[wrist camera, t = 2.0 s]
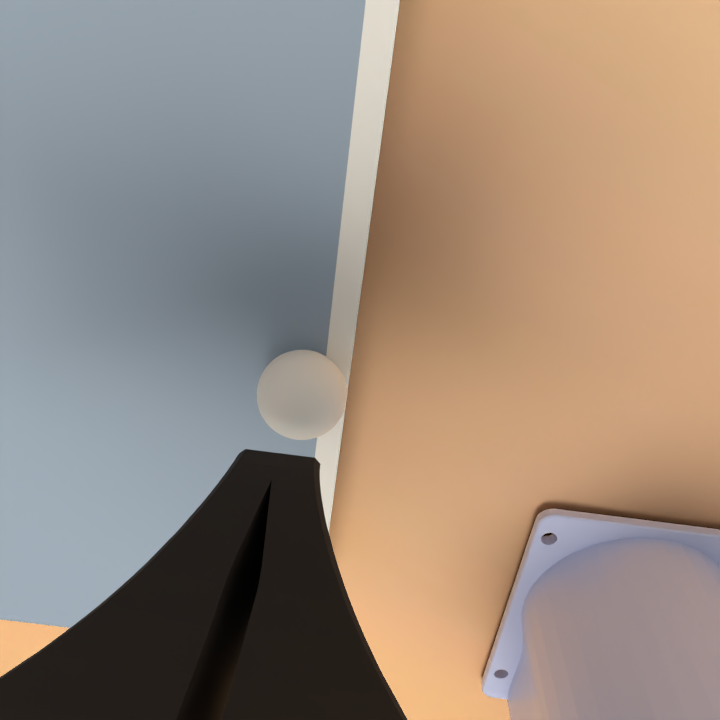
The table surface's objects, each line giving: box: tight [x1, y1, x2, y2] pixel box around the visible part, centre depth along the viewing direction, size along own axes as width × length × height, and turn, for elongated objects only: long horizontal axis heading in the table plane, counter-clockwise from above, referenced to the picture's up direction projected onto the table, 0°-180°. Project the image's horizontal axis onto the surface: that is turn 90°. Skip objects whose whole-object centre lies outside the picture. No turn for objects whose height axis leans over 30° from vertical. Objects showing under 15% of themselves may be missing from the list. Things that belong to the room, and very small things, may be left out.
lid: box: [0, 0, 400, 628], centre depth 15 cm, size 20×14×3 cm
